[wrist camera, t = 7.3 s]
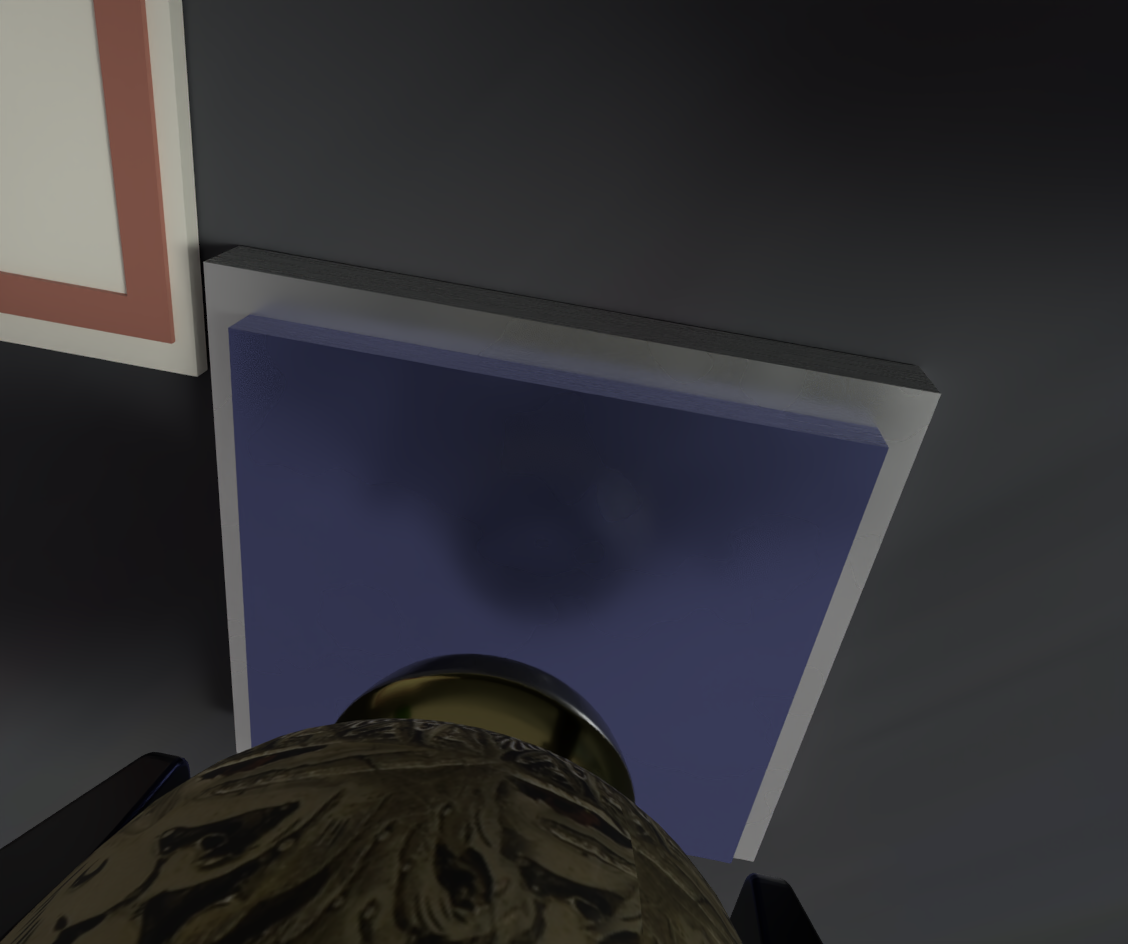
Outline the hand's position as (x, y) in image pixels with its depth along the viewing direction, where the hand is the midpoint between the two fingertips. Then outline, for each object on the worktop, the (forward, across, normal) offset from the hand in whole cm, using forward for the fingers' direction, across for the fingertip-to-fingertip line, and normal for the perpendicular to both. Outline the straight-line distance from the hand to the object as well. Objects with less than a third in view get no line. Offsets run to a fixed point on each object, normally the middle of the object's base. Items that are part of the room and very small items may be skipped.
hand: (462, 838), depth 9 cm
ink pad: (+5, 0, 0) cm, 5 cm away
